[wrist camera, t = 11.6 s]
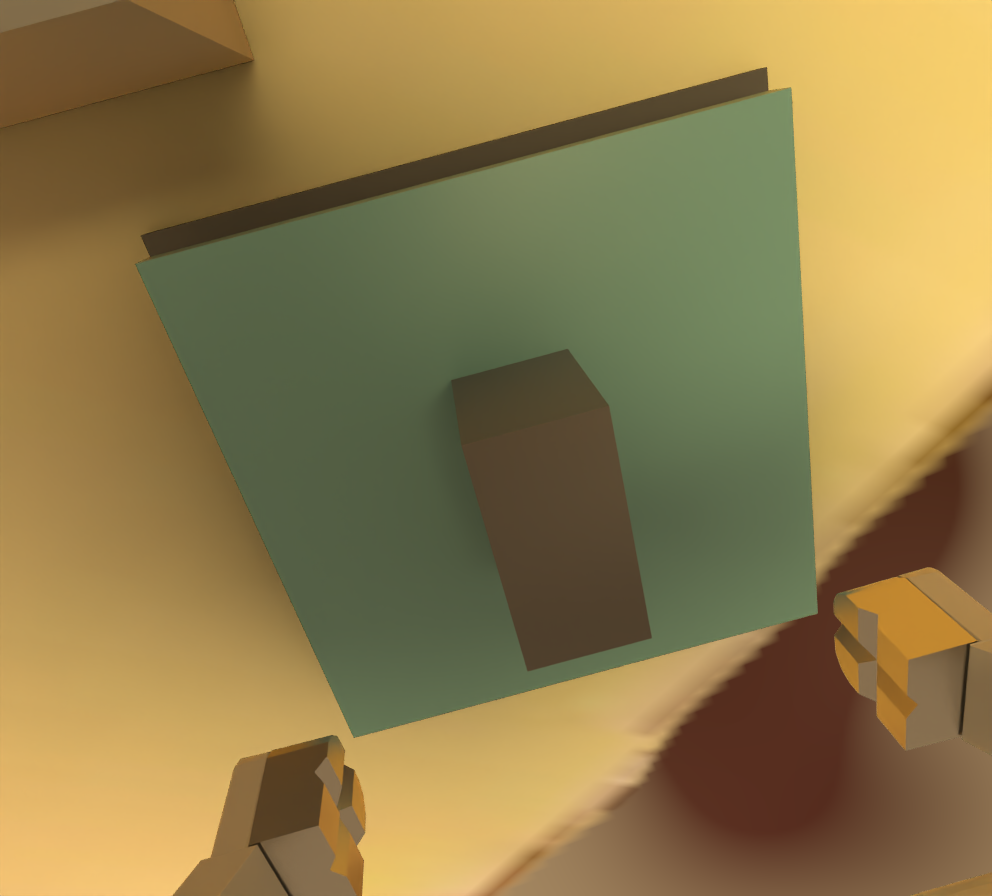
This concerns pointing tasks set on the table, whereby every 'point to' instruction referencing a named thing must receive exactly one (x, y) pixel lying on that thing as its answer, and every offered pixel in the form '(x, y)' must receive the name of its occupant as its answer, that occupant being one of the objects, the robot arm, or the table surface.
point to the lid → (520, 409)
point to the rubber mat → (456, 162)
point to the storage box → (108, 49)
